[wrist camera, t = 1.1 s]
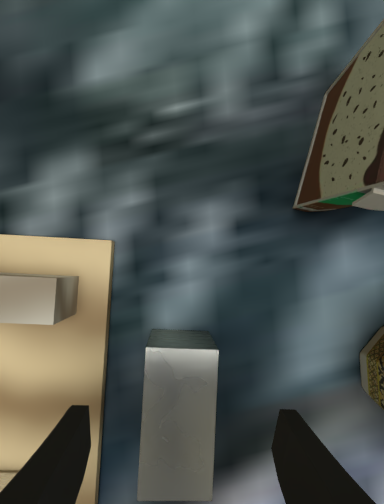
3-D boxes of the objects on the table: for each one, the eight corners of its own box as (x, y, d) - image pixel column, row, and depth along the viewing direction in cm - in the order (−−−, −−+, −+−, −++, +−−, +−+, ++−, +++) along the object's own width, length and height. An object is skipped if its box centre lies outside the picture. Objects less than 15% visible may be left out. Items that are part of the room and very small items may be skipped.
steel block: (202, 445, 21) (212, 500, 16) (145, 444, 21) (136, 500, 16) (207, 330, 21) (218, 349, 16) (152, 328, 21) (145, 347, 16)
